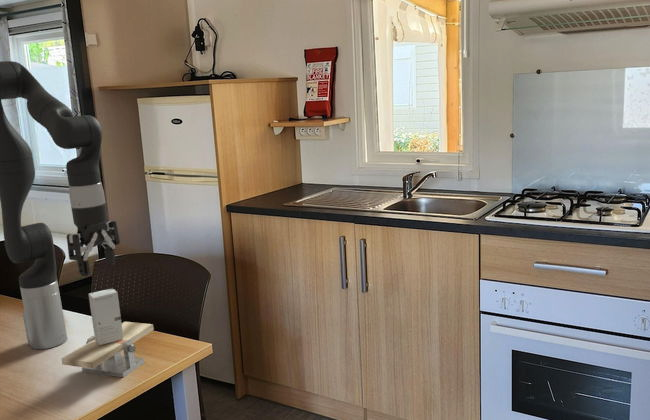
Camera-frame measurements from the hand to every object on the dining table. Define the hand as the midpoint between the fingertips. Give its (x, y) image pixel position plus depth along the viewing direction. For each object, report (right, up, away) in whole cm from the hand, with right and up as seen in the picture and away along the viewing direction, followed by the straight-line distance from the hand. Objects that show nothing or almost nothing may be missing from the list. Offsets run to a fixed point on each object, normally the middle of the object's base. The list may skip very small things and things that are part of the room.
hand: (98, 269), depth 146 cm
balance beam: (+1, -19, +4) cm, 20 cm away
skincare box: (+1, -18, +4) cm, 18 cm away
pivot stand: (+2, -24, +5) cm, 25 cm away
